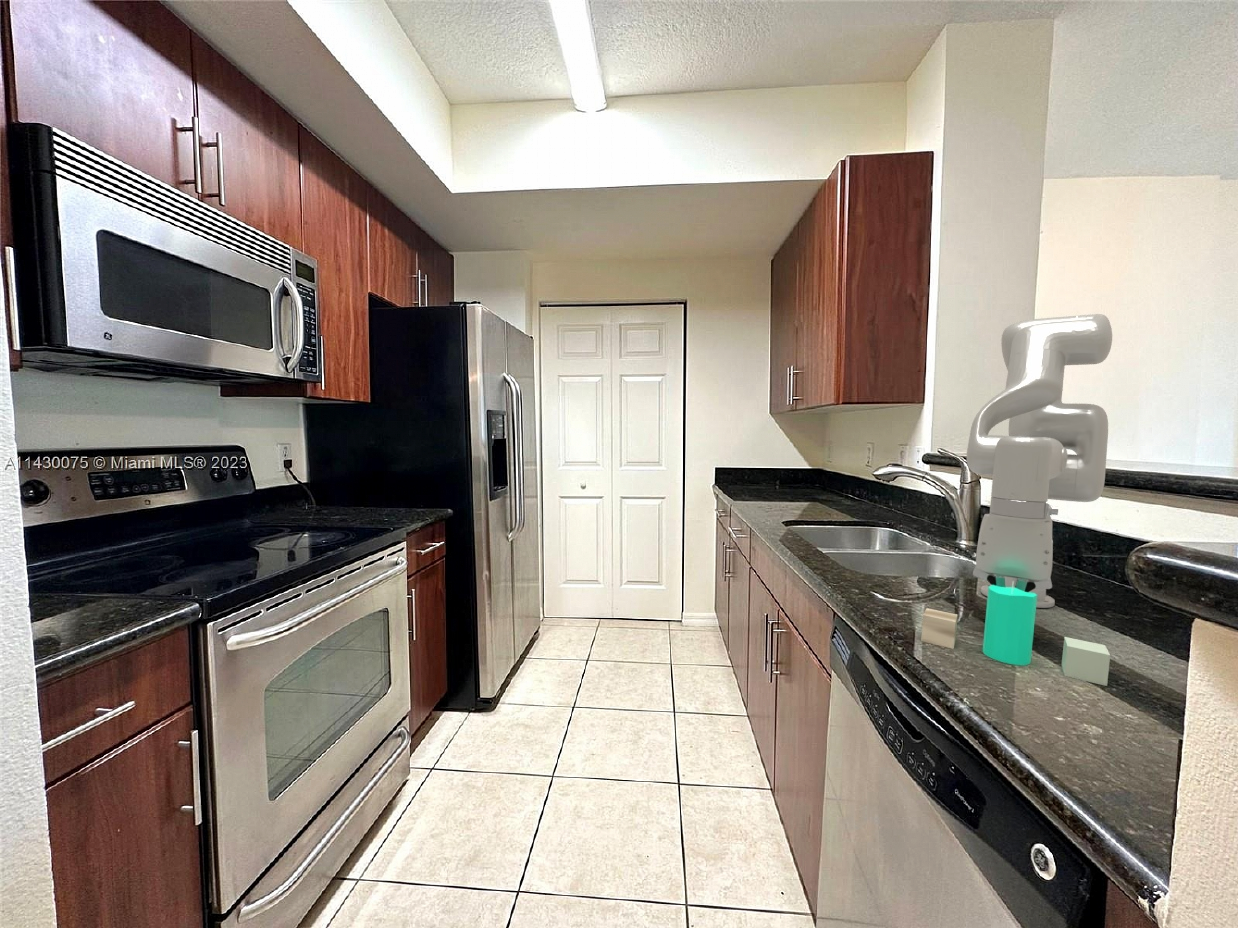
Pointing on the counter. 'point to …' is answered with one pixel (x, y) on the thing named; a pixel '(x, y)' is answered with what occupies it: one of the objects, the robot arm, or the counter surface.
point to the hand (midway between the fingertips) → (1007, 616)
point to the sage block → (1085, 661)
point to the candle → (1009, 625)
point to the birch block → (939, 628)
